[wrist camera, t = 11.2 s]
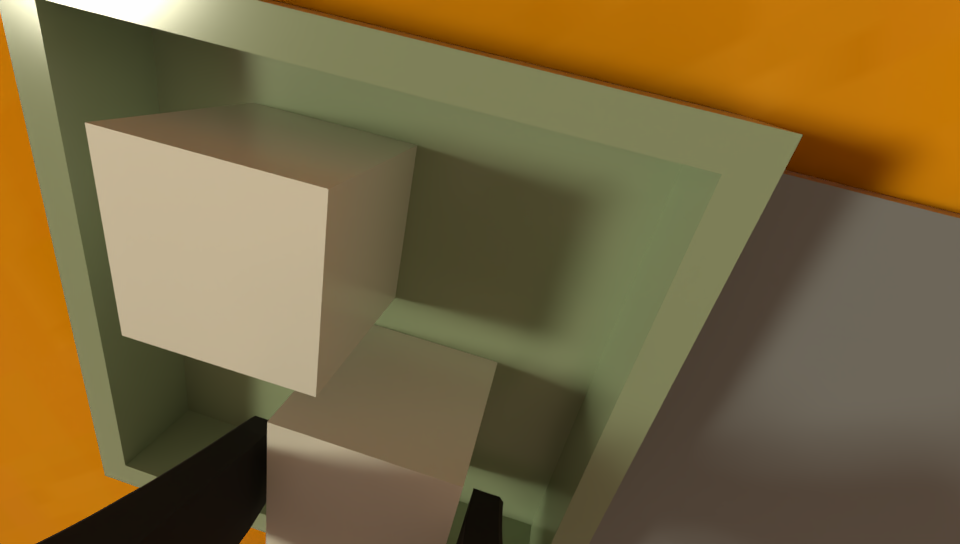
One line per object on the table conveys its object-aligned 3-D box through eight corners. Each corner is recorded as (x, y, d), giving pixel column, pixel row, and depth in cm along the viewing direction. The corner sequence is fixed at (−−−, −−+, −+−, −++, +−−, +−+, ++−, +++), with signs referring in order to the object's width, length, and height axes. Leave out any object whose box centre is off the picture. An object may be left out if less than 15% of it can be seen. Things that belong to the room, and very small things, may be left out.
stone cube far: (467, 465, 14) (428, 603, 10) (344, 424, 14) (265, 545, 11) (497, 362, 12) (462, 487, 9) (356, 318, 12) (267, 422, 9)
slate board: (859, 661, 15) (873, 691, 14) (559, 559, 16) (558, 583, 15) (1288, 297, 9) (1352, 318, 8) (754, 162, 10) (768, 170, 9)
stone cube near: (395, 297, 12) (316, 397, 8) (255, 256, 12) (122, 335, 9) (417, 144, 10) (329, 188, 7) (252, 102, 11) (84, 122, 7)
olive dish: (550, 531, 15) (543, 631, 13) (182, 408, 16) (105, 475, 14) (738, 114, 9) (803, 134, 7) (137, -34, 10) (-18, -68, 8)
